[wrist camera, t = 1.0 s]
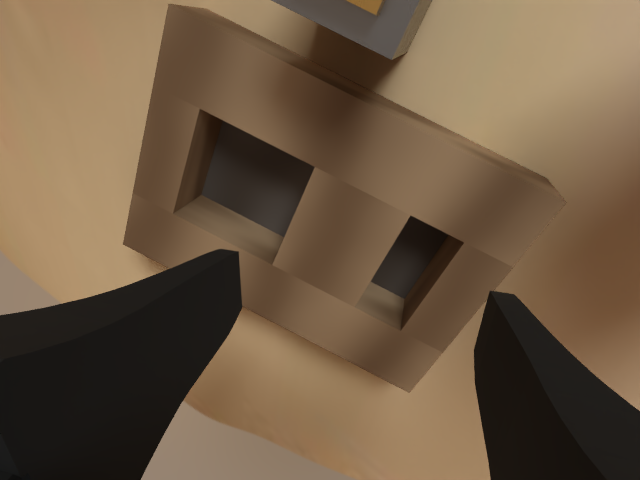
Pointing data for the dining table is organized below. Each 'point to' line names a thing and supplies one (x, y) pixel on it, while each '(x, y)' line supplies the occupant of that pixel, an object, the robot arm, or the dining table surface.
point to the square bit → (367, 21)
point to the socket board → (325, 198)
